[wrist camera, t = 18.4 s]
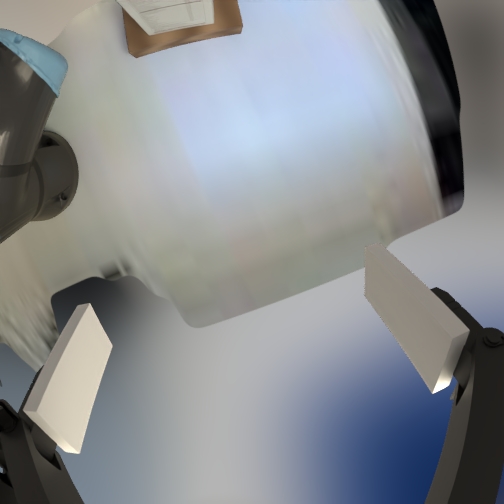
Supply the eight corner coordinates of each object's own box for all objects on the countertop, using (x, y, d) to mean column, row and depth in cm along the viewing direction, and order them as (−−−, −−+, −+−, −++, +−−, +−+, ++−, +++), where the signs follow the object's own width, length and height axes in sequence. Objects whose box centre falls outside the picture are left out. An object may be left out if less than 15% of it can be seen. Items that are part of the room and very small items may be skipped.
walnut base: (136, 57, 35) (128, 52, 32) (127, -3, 30) (120, -11, 27) (240, 33, 36) (242, 25, 32) (227, -27, 30) (228, -37, 27)
